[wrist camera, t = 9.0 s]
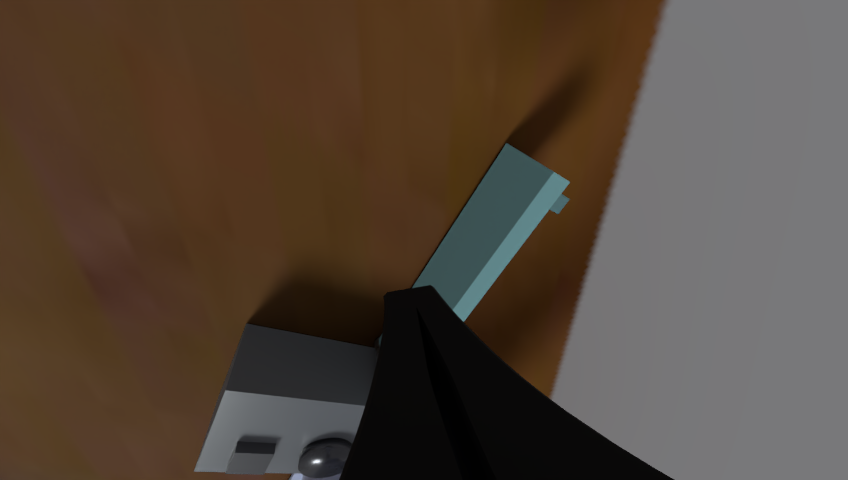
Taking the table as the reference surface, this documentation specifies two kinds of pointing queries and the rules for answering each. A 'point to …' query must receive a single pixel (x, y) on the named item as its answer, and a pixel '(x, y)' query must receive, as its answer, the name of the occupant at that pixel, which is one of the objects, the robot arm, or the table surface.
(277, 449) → the camera case
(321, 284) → the table surface
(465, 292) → the side door
